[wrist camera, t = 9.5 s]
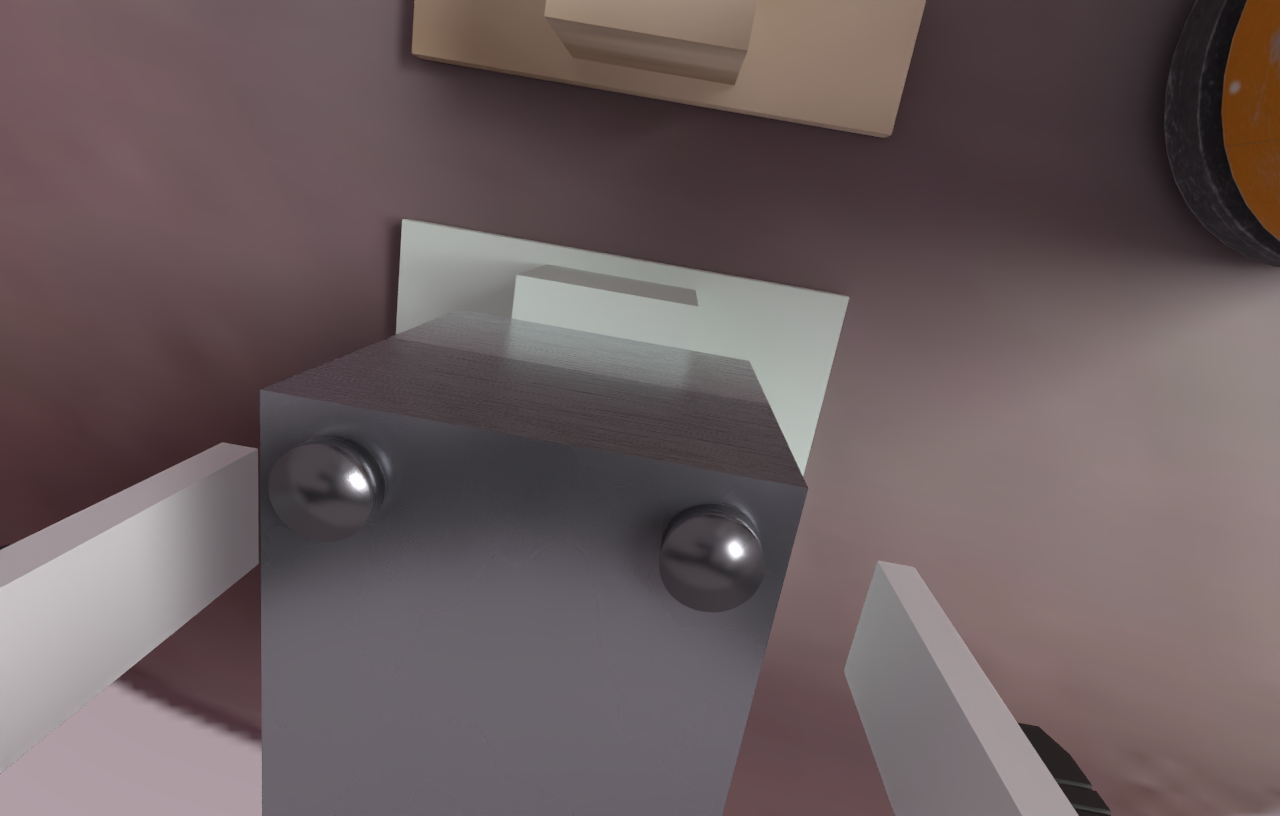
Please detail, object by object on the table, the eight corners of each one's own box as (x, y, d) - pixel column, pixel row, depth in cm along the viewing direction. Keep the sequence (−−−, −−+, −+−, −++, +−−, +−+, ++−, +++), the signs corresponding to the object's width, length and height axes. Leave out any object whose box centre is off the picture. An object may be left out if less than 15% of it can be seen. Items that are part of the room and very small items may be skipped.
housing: (458, 309, 14) (237, 398, 7) (748, 360, 14) (814, 502, 7) (430, 649, 17) (245, 962, 10) (675, 695, 17) (669, 1043, 10)
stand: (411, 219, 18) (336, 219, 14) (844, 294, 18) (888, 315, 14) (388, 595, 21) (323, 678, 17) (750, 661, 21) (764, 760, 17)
